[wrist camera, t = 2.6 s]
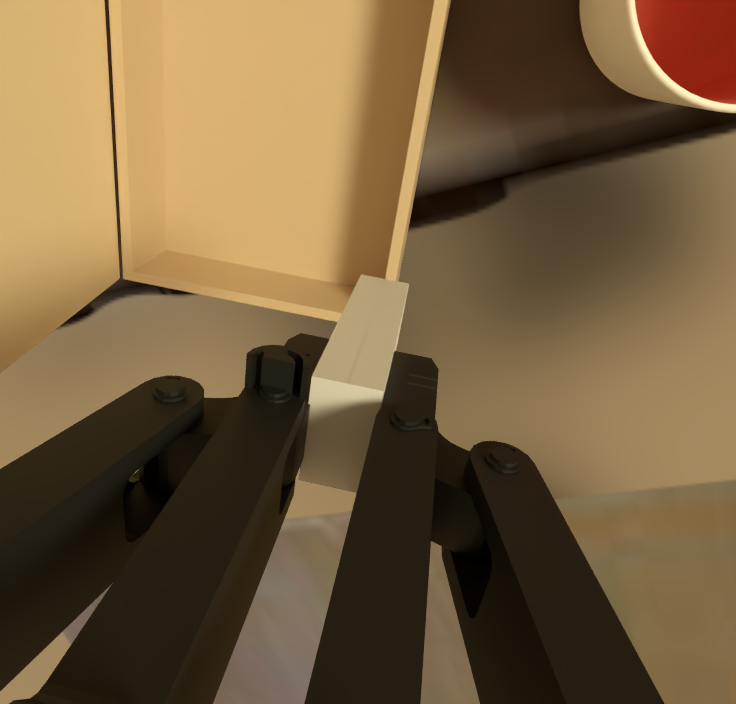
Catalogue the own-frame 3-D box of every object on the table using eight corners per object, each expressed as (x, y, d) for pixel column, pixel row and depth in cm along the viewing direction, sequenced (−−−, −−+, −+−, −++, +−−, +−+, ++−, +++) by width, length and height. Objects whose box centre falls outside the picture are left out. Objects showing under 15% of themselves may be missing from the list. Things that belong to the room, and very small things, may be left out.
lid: (92, -221, 24) (77, -224, 24) (-374, -635, 9) (-411, -643, 9) (119, 278, 34) (109, 276, 34) (-83, 438, 20) (-101, 435, 20)
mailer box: (153, -175, 28) (97, -220, 24) (475, -126, 27) (478, -163, 23) (161, 255, 38) (123, 280, 34) (394, 301, 38) (386, 333, 33)
